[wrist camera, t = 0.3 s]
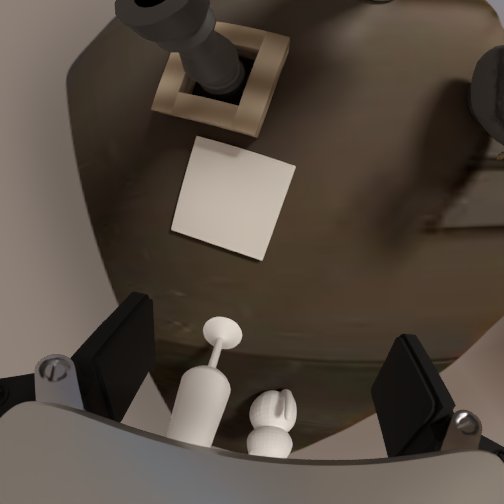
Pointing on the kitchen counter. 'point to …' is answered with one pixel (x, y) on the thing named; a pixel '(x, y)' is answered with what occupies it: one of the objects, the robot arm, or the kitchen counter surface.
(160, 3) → the candle holder
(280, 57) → the socket block
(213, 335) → the champagne flute
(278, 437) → the cat figurine
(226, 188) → the ceramic tile
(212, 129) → the kitchen counter surface
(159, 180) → the kitchen counter surface
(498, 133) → the pitcher
